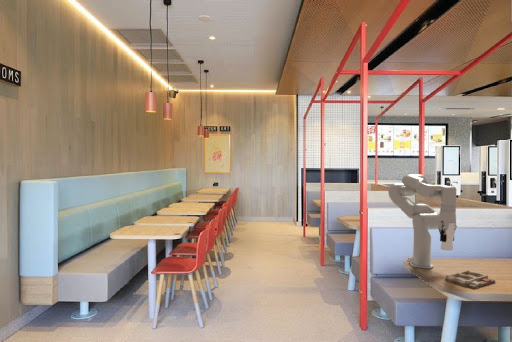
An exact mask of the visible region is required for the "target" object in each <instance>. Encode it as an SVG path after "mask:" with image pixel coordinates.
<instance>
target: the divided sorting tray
mask: <svg viewBox="0 0 512 342" xmlns="http://www.w3.org/2000/svg"><path fill="white" fill-rule="evenodd" d="M444 281H446V282H450V283H453V284H457V285H459V286H463V287H467V288H470V289H473V290H475V289H478V288H483V287H485V286H488V285H492V284H495V283H496V280H495V279H492V278H489V275H488V274H483V273H480V272H476V271H471V270H464V271H459V272H456V273H452V274H448V275H446V277H444Z"/></svg>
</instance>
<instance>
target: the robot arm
mask: <svg viewBox="0 0 512 342" xmlns="http://www.w3.org/2000/svg"><path fill="white" fill-rule="evenodd" d="M387 192H388V197H389V198H390V200H391V202H392V203H393V204H394V205H396V206H397V207H398V208H399V209H400V210H401V211H402V212H403V213H404V214H405V215H406V216H407V217H408V218H409V219H411V220H412V223H411V224H412V227H413V229H412V230H413V247H412V248H413V250H412V251H413V256H411V255H408V257H407V260H409V261H410V262H409V264H410V266H411V267H415V268H418V269H433V268H434V265H433V264H432V263H431V254H432V253H431V250H432V248H431V247H432V236H431V234H430V232H429V230H438V232H439V234H440V235H439V236H440V237H439V241H440V242H441V243H442V242H446V235H445V234H446V230H447V229H448V227H449V223H454V225H455V231H456V230H457V228H458V226H457V213H456V211H457V188H456V186H452V185H445V184H429V181H427V178H426V177H425V176H424V175H423V174H413V173H412V174H411V173H410V174H405V175H404V176H402V179H401V182H400V183H399V182H398V183H397V182H396V183H393V184H390V185H389V186H388V191H387ZM416 194H418V195H419V196H421V197H424V198H427V199H440V208H439V209H440V210H439V213H438V212H437V211H436V210H435V209H434V208H433V207H431V206H430V205H429V204H427V203H415V202H413V201H412V200H411V199H410V198H409V197H411V196H414V195H416ZM443 225H444V227H445V229H443V228H442V227H443ZM443 230H444V231H443ZM454 241H455V237H454V238H453V242H454Z"/></svg>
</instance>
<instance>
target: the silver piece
mask: <svg viewBox="0 0 512 342" xmlns="http://www.w3.org/2000/svg"><path fill="white" fill-rule="evenodd" d="M442 228H443V229H445V227H444V225H443V227H442ZM443 231H444V230H443ZM455 233H456V230H455V225H454V223H449V227H448V229H447V230H446V234H445V235H446V242H442V241H441V245H440V249H441V250H443V251H453V250H454V247H453V245H454V244H453V242H454V241H453V238H454V239H455Z"/></svg>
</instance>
